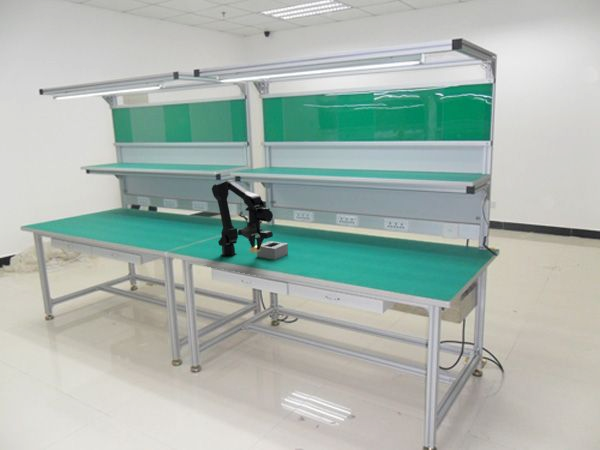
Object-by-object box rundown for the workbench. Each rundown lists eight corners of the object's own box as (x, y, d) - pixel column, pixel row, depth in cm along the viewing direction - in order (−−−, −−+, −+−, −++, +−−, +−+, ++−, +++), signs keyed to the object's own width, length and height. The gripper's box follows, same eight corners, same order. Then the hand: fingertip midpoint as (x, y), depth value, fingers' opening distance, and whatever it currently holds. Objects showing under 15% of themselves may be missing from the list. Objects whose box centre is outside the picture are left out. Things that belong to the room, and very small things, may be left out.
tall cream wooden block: (249, 252, 237) (249, 247, 237) (257, 249, 242) (257, 244, 242) (254, 253, 236) (254, 248, 235) (261, 250, 240) (261, 245, 240)
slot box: (257, 256, 248) (256, 245, 247) (270, 251, 258) (270, 240, 257) (275, 259, 242) (274, 248, 241) (288, 254, 252) (287, 243, 250)
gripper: (230, 220, 234) (231, 250, 237) (259, 224, 224) (260, 255, 227) (244, 216, 243) (245, 245, 246) (272, 220, 233) (273, 250, 236)
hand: (255, 249), depth 239 cm, fingers closed on tall cream wooden block, 3 cm apart
